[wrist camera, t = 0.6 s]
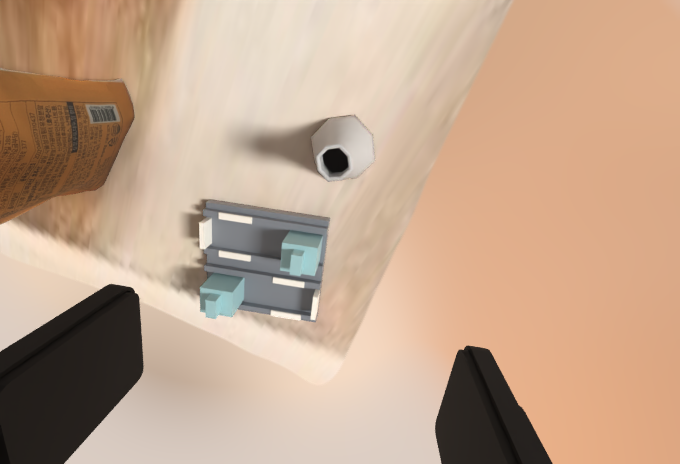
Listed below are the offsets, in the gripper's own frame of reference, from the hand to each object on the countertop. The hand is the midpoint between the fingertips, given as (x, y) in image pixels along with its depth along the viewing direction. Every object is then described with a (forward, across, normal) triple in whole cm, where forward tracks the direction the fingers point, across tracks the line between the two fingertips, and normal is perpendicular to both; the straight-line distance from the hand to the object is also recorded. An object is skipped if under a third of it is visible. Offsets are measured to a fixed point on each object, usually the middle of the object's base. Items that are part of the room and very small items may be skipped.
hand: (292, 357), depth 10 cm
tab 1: (+30, +14, +16) cm, 37 cm away
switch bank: (+31, +9, +12) cm, 35 cm away
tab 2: (+30, +4, +9) cm, 31 cm away
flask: (+31, +1, -4) cm, 31 cm away
